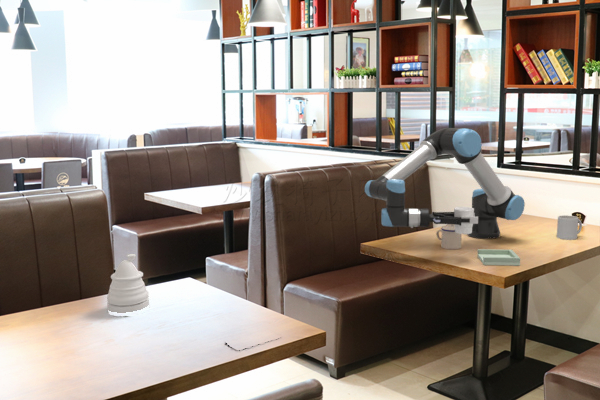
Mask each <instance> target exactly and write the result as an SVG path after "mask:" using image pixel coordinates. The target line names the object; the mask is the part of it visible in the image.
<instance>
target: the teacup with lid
mask: <svg viewBox="0 0 600 400" xmlns="http://www.w3.org/2000/svg"><path fill="white" fill-rule="evenodd" d="M439 232H440V233H441V237H440V233H439ZM435 234H436V238H437V239H438V240H439V241H440V244H441V245H440V246H441V248H443V249H445V250H459V249H461V248H462V234H458V233H455V224H444V225H442V226H441V228H440V229H438V230H437V231H436V233H435Z"/></svg>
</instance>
